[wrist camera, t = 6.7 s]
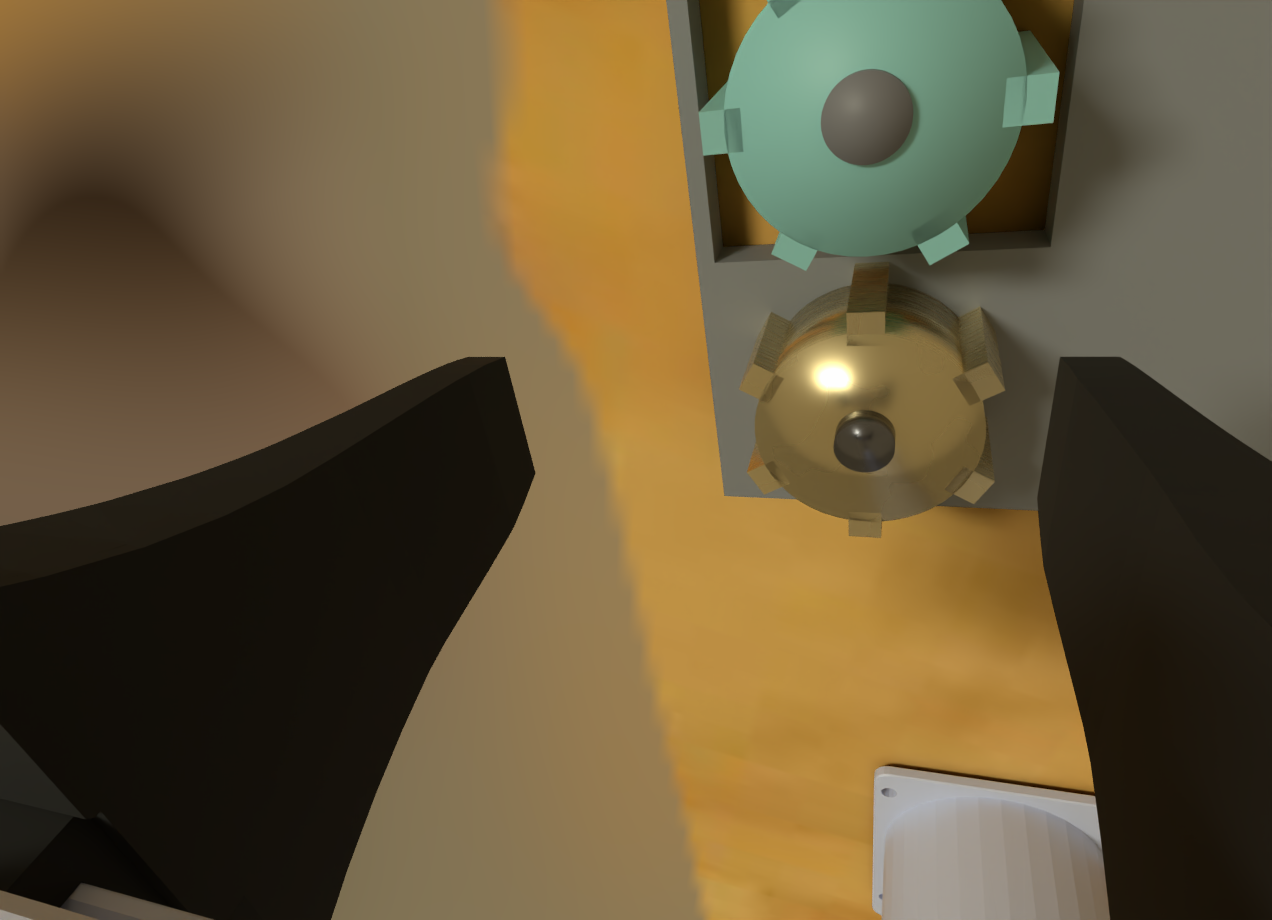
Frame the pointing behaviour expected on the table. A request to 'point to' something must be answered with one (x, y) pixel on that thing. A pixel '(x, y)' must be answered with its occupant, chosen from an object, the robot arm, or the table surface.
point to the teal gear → (876, 120)
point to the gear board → (1010, 284)
